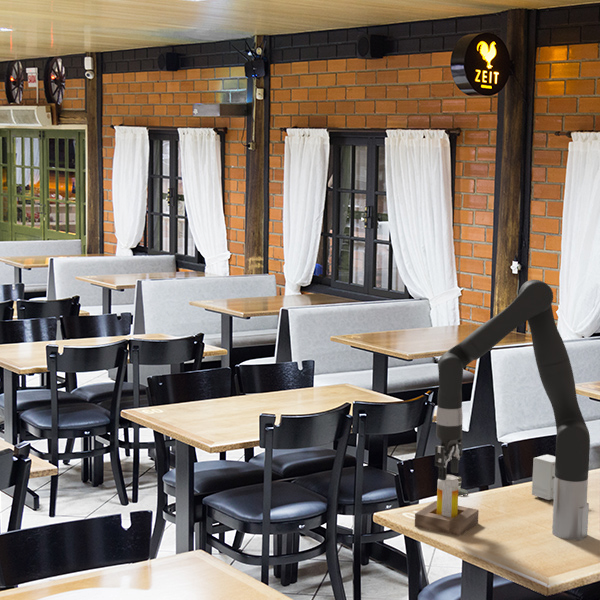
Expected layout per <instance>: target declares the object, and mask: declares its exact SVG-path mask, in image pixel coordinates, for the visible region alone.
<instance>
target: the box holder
mask: <svg viewBox="0 0 600 600" xmlns="http://www.w3.org/2000/svg"><path fill="white" fill-rule="evenodd" d="M479 512H480V510H479V509H476V508H473V507H466V506H463V505H461V506H460V505H458V514H457V516H456V517H455V518H452V517H447V516H442V515H437V500H435V501H433V502H431V503H430V504H428V505H427V506H425V507H423V508H422V509H420V510H419V511H417V512H415V513H414V527H415V528H422V529H426V530H430V531H435V532H439V533H443V534H450V535H452V536H453V535H454V536H458V537H459V536H461V535H463V534H464V533H466V532H467V531H469V530H470V529H472V528H473V527H475V526H477V525H478V524H479Z"/></svg>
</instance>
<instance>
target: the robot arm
mask: <svg viewBox="0 0 600 600" xmlns="http://www.w3.org/2000/svg"><path fill="white" fill-rule="evenodd" d="M553 301H554V293H553V289H552V287H551V286H550V285H549V284H548V283H546V282H544V281H542V280H539V279H530V280H527V281H526V282H524V283H522V285H521V287H520V288H519V290H518V295H517V296H516V297H515V298H514V300H513V301H512V302H511V303H510V304H509V305H508V306H507V307H506V308H504V309H503V310H501V311H500V312H499V313H498V314H496V315H495V316H493V317H491V318H490V319H489V320H487V321H486V322H483V323H482V324H481V325H480V326H478V327H477V328H476V329H475V330H473V331H472V332H471V333H470V334H468V335H467V336H466V337H465V338H463V340H461V342H459V343H458V344H456V345H455V346H452V347H451V348H450V349H448V350H446V352H444V353H443V354H442V355H441V356H440V357H439V359H438V361H437V370H438V390H437V391H438V392H437V409H436V416H435V417H436V421H435V422H436V429H435V435H436V438H437V439H438V440H440V444H439V445H435V451H434V452H435V453H434V467H438V476H437V477H438V479H440V480H446V476H447V475H448V474H447V466H448V462H450V473H452V474H457V473H459V463H460V460H461V459H460V458H462V457H463V419H464V418H463V392H462V387H463V377H464V368H465V367H467V366H468V365H469V364H470V363H472V362H473V361H477V360H479V359H480V358H482V356H484V355H486V354H487V353H488V352H489V351H490V350H492V349H493V348H494V347H495V346H497V344H498V343H500V342H501V341H502V340H503V339H504V338H506V337H507V336H508V335H510V334H511V332H513V331H515V329H517V328H518V327H520V326H521V325H523V324H524V323H525V322H527V323H528V325H529V326H528V327H529V330H530V334H531V335H530V336H531V341H532V348H533V354H534V358H535V362H536V363H535V364H536V367H537V370H538V375H539V378H540V381H541V384H542V386H543V389H544V391H545V393H546V396H547V398H548V399H549V402H550V404H551V406H552V413H553V415H554V421H555V427H556V437H555V480H554V499H553V504H552V506H553V508H552V526H551V529H552V532H551V533H552V535H553V536H555V537H557V538H559V539H565V540H571V541H574V540H576V541H577V540H578V541H582V540H583V539H585V538H586V537H587V536H588V530H589V529H588V526H589V512H590V511H589V510H590V509H589V507H590V504H589V502H588V487H589V486H588V484H589V483H588V482H589V471H590V469H589V468H590V453H591V437H590V434H591V433H590V431H589V428H588V426H587V423H586V421H585V419H584V416H583V414H582V411H581V408H580V406H579V402H578V398H577V391H576V390H577V389H576V382H575V377H574V372H573V367H572V364H571V360H570V357H569V353H568V350H567V348H566V347H567V346H566V345H565V342H564V340H563V338H562V336H561V334H560V332H559V329H558V326H557V325H556V320H555V317H554V310H553V305H552V304H553Z"/></svg>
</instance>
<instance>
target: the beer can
mask: <svg viewBox="0 0 600 600" xmlns="http://www.w3.org/2000/svg"><path fill="white" fill-rule="evenodd" d="M456 476H457V475H453V474H447V476H446V480H440V479H439V478H438V479H437V491H436V501H437V515H442V516H447V517H452V518H455V517H456V516H457V514H458V506H459V505H458V504H459V495H458V484H459V481H458V479H457V477H456Z"/></svg>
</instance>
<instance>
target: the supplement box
mask: <svg viewBox="0 0 600 600" xmlns="http://www.w3.org/2000/svg"><path fill="white" fill-rule="evenodd" d="M555 457H556V455H555V456H554V455H551V454H543V455H540V456H537V457H533V461H532V462H533V463H532V464H533V465H532V481H531V482H532V484H531V485H532V486H531V495H532V496H535V497H539V498H542V499H545V500H547V501H550V500H554V480H555Z"/></svg>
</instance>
